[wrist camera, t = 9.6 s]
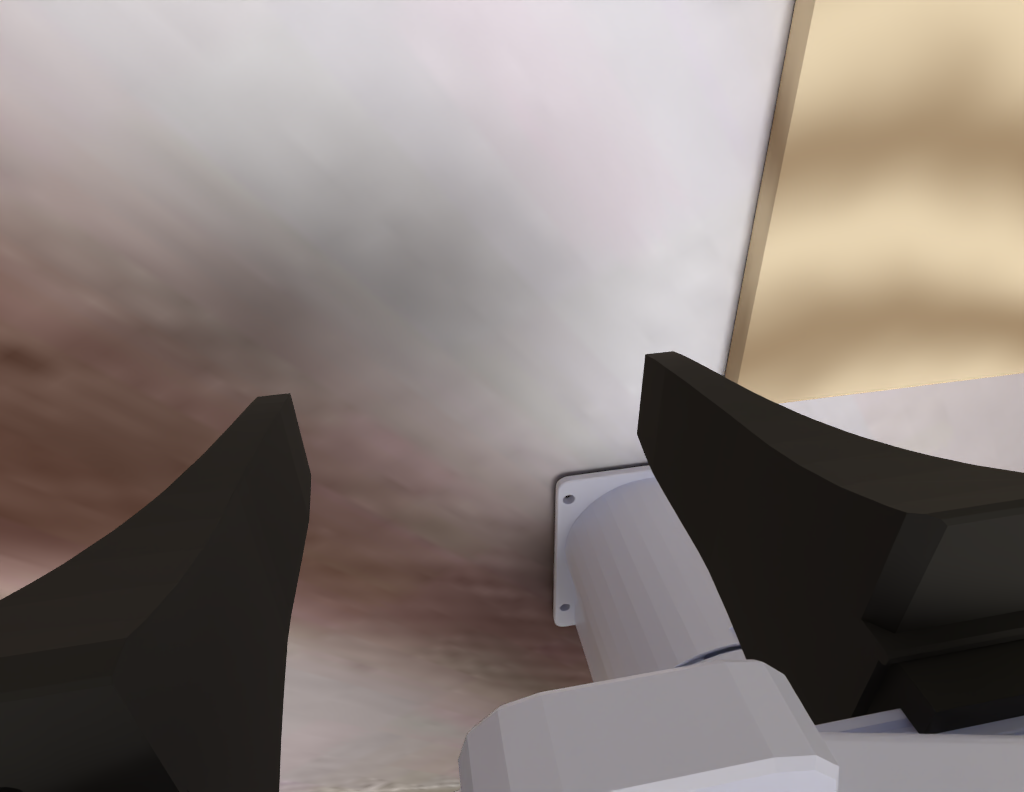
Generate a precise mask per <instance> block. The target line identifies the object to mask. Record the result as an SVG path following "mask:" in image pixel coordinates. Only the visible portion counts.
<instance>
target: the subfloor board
mask: <svg viewBox="0 0 1024 792" xmlns="http://www.w3.org/2000/svg"><path fill="white" fill-rule="evenodd" d="M1019 373H1024V0H796V2H795V8H794V13H793V18H792V23H791V29H790V34H789V39H788V45H787V50H786V55H785V61H784V66H783V71H782V76H781V82H780V87H779V92H778V98H777V103H776V108H775V113H774V119H773V124H772V129H771V135H770V140H769V145H768V150H767V156H766V161H765V166H764V172H763V177H762V182H761V188H760V193H759V198H758V203H757V209H756V214H755V219H754V225H753V230H752V235H751V240H750V246H749V251H748V256H747V262H746V267H745V272H744V277H743V283H742V288H741V293H740V299H739V304H738V309H737V314H736V320H735V325H734V330H733V336H732V341H731V346H730V352H729V357H728V362H727V367H726V373H725V378H727V379H729V380H731V381H733V382H735V383H737V384H739V385H741V386H743V387H744V388H746V389H748V390H750V391H752V392H754V393H756V394H758V395H760V396H762V397H764V398H766V399H768V400H770V401H773V402H775V403H777V404H778V403H786V402H794V401H802V400H810V399H818V398H826V397H834V396H842V395H850V394H858V393H866V392H874V391H882V390H890V389H898V388H906V387H915V386H923V385H931V384H939V383H947V382H955V381H963V380H971V379H979V378H987V377H995V376H1003V375H1011V374H1019Z"/></svg>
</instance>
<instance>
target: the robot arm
mask: <svg viewBox="0 0 1024 792" xmlns="http://www.w3.org/2000/svg"><path fill="white" fill-rule="evenodd" d="M637 435H638V438H639V440H640V443H641V446H642V448H643V451H644V453H645V456H646V458H647V461H648V463H649V465H647V466H640V467H632V468H625V469H618V470H610V471H603V472H595V473H588V474H580V475H573V476H567V477H563V478H562V479H560V480H559V481H558V482H557V484H556V499H555V548H554V597H553V618H554V622H555V624H556V625H557V626H560V627H565V626H571V625H576V628H577V631H578V634H579V637H580V641H581V644H582V647H583V650H584V654H585V657H586V660H587V663H588V667H589V670H590V673H591V676H592V679H593V683H589V684H583V685H578V686H572V687H567V688H561V689H556V690H550V691H545V692H539V693H536V694H533V695H530V696H528V697H525V698H522V699H519V700H516V701H513V702H510V703H507V704H504V705H501V706H500V707H498V708H497V709H496V710H494V711H493V712H492V713H491V714H489V715H488V716H487V717H486V718H484V719H483V720H482V721H480V722H479V723H478V724H477V725H475V726H474V727H473V728H472V729H471V730H470V731H469V733H468V734H467V735H466V738H465V741H464V744H463V747H462V750H461V753H460V756H459V759H458V763H459V773H460V782H461V789H459V790H457V791H454V792H1024V473H1021V472H1015V471H1009V470H1002V469H996V468H990V467H983V466H977V465H972V464H967V463H962V462H957V461H953V460H948V459H943V458H939V457H934V456H929V455H925V454H921V453H917V452H913V451H909V450H905V449H902V448H898V447H895V446H891V445H888V444H884V443H881V442H877V441H874V440H871V439H867V438H864V437H861V436H858V435H855V434H852V433H849V432H846V431H843V430H840V429H838V428H835V427H832V426H830V425H827V424H824V423H822V422H819V421H816V420H814V419H811V418H809V417H806V416H804V415H801V414H799V413H797V412H795V411H792V410H790V409H788V408H786V407H784V406H781V405H779V404H777V403H775V402H773V401H770V400H768V399H766V398H764V397H762V396H760V395H758V394H756V393H754V392H752V391H750V390H748V389H746V388H744V387H743V386H741V385H739V384H737V383H735V382H733V381H731V380H729V379H727V378H725V377H724V376H722V375H720V374H718V373H716V372H714V371H712V370H710V369H709V368H707V367H705V366H703V365H701V364H699V363H697V362H695V361H693V360H691V359H689V358H687V357H685V356H683V355H681V354H678V353H676V352H674V351H672V352H663V353H654V354H645V364H644V373H643V382H642V392H641V401H640V411H639V420H638V429H637ZM310 491H311V473H310V469H309V465H308V461H307V457H306V453H305V450H304V446H303V442H302V438H301V434H300V430H299V426H298V422H297V418H296V414H295V410H294V406H293V402H292V398H291V395H290V393H289V394H280V395H271V396H262V397H257V398H256V399H255V400H254V401H253V402H252V403H251V404H250V405H249V406H248V407H247V408H246V409H245V411H244V412H243V413H242V414H241V415H240V416H239V417H238V418H237V419H236V420H235V421H234V423H233V424H232V425H231V426H230V427H229V428H228V429H227V430H226V431H225V432H224V433H223V434H222V435H221V436H220V437H219V438H218V439H217V441H216V442H215V443H214V444H213V445H212V446H211V447H210V448H209V449H208V450H207V451H206V452H205V453H204V454H203V455H202V456H201V457H200V458H199V459H198V460H197V461H196V462H195V463H194V464H193V465H191V466H190V467H189V468H188V469H187V470H186V471H185V472H184V473H183V474H182V475H181V476H180V477H179V478H178V479H176V480H175V481H174V482H173V483H172V484H171V485H170V486H169V487H168V488H167V489H166V490H165V491H163V492H162V493H161V494H160V495H159V496H158V497H156V498H155V499H154V500H153V501H151V502H150V503H149V504H148V505H147V506H145V507H144V508H143V509H141V510H140V511H139V512H138V513H136V514H135V515H134V516H132V517H131V518H130V519H128V520H127V521H126V522H125V523H123V524H122V525H121V526H119V527H118V528H116V529H115V530H114V531H112V532H111V533H109V534H108V535H106V536H105V537H103V538H102V539H100V540H99V541H97V542H96V543H94V544H93V545H91V546H90V547H88V548H87V549H85V550H84V551H82V552H81V553H79V554H78V555H76V556H75V557H73V558H72V559H70V560H69V561H67V562H66V563H64V564H62V565H61V566H59V567H58V568H56V569H54V570H53V571H51V572H49V573H47V574H46V575H44V576H42V577H41V578H39V579H37V580H36V581H34V582H32V583H30V584H29V585H27V586H25V587H23V588H21V589H20V590H18V591H16V592H14V593H12V594H11V595H9V596H7V597H5V598H3V599H2V600H0V792H279V780H280V755H281V732H282V715H283V698H284V682H285V669H286V656H287V642H288V634H289V627H290V619H291V613H292V608H293V603H294V598H295V592H296V587H297V582H298V577H299V571H300V566H301V561H302V556H303V550H304V545H305V539H306V534H307V528H308V523H309V513H310ZM567 495H571V496H570V497H568V498H564V497H565V496H567Z"/></svg>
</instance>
